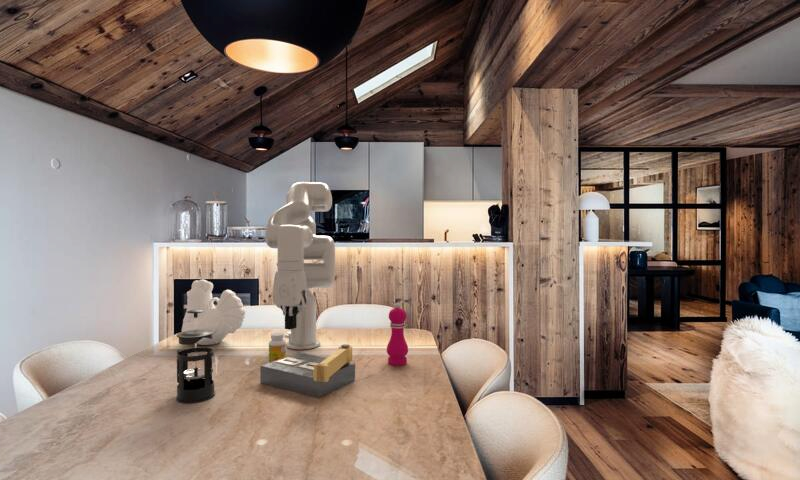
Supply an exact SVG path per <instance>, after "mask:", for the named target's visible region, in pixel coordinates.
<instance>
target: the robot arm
mask: <svg viewBox="0 0 800 480" xmlns="http://www.w3.org/2000/svg"><path fill="white" fill-rule="evenodd" d="M285 199H286V200H285V201H286V204H285V205H284V206H282V207H281V208H279V209H277V210H275V212H273V213H272V214H271V215H270V217H269V219H268V221H267V224H266V228H265V234H264V238H265V239H264V240H265V243H266V245H267V246H268V247H269V248H271V249H277V262H276V266H277V270H276V271H275V273H274V278H273V285H272V303H273V304H274V305H276V307H277V308H278V309H280V310H281V311H282V315H283V316H284V329H285V330H290V331H288V332H287V333H286V334H284V338H285V339H288V341H287V342H286V348H288V349H290V350H310V349H311V350H312V349H315V348H318V347H319V346H321V341H320V340H319V339H317V300H316V297H315V294H314V293H313V292H312V291H311V289H325V288H326V289H328V288H331V287H333V286H334V284H335V281H336V279H335V278H336V246H335V241H334V239H333V238H332V237H331V236H329V235H317V234H316V227H317V224H316V222H315V220H314V219H313V218H312V216H311V214H312V212H317V213H318V212H329V211H330V210H331V208H332V205H333V196H332V192H331V189H330V186H328V184H327V183H324V182H315V181H313V182H310V181H309V182H307V181H305V182H304V181H302V182H301V181H299V182H296V183H293V184H292V185H291V187H290V189H289V191H287V193H286V196H285ZM305 261H322V262H323V263H322V262H321V263H320V262H319V263H318V262H305Z"/></svg>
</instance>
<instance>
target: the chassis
mask: <svg viewBox="0 0 800 480" xmlns="http://www.w3.org/2000/svg"><path fill="white" fill-rule="evenodd" d="M326 358H327V357H325V356H319V355H314V354H309V353H304V352H297V353H294V354H291V355H288V356H286V357H285V358H282V359H279V360H276V361H273V362H270V363H269V362H267V363H265V364H261V365H260V371H259V372H260V377H259V378H260V380H259V381H260V384H263V385H267V386H271V387H274V388H279V389H283V390H285V391H291V392H294V393H298V394H301V395H306V396H309V397H313V398H317V399H320V398H322V397H324V396H326V395H328V394H330V393H332V392H335V391H336V390H338V389H340V388H342V387H344V386H346V385H348V384H350V383H353V382H354V381H356V363H354V362H350V363H349V364H345V365H343V366H342V367H341V368H340V369H339V370H337V371H336V372H335V373H334V374H333V375H331V376H330V377H329V381H328V382H322V381H314V365H315V364H319V363H321V362H322V361H323V360H325V359H326Z"/></svg>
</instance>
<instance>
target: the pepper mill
mask: <svg viewBox="0 0 800 480" xmlns="http://www.w3.org/2000/svg"><path fill="white" fill-rule="evenodd" d="M388 319H389V321H390V323H389V324H390V325H389V327H390V329H391V335H390V338H389V341H388V343H387V345H386V353H387V355H388V357H387V364H389V365H390V366H394V367H395V366H399V367H401V366H404V365H406V364H407V361H408V359H407V355H408V353H409V346H408V344H407V341H406V339H405V336H404V328H405V327H406V325H405V324H406V323H405V321H406V319H407V313H406V310H405V309H403V308H401V304H400V303H398V302H397V303H395V305H394V308H392V309H391V310H390V311H389V312H388Z"/></svg>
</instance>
